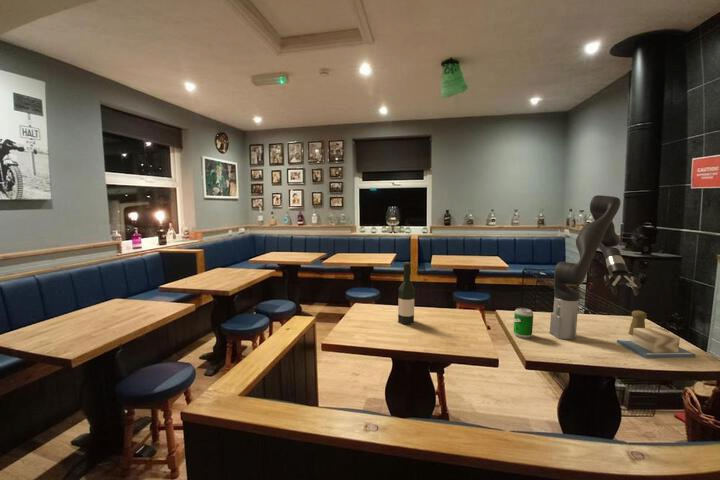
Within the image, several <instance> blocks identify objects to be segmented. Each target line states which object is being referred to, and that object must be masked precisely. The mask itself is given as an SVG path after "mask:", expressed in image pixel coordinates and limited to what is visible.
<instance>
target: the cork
mask: <svg viewBox="0 0 720 480" xmlns="http://www.w3.org/2000/svg"><path fill="white" fill-rule="evenodd" d="M631 317H632V319H631V323H630V326H629V331H628V334H629V335H630V336H632V337H633V329H634V328H646V321H645V320H646V319H647V317H648V315H647V313H646V312H644V311H642V310H633V311H632V312H631Z"/></svg>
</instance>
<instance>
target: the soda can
mask: <svg viewBox="0 0 720 480" xmlns="http://www.w3.org/2000/svg"><path fill="white" fill-rule="evenodd" d="M533 327H534V312H533V311H532V310H531V309H529V308H525V307H517V308H516V309H515V310H514V318H513V331H512V333H513V334H514V335H515V337H517V338H520V339H521V338H522V339H530V337H532V336H533V329H534V328H533Z"/></svg>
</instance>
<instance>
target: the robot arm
mask: <svg viewBox="0 0 720 480" xmlns="http://www.w3.org/2000/svg"><path fill="white" fill-rule="evenodd" d="M620 207H621V199H620V197H617V196H610V195H601V194H600V195H598V194H597V195H594V196H592V198H591V200H590V204H589V212H590V214H591V216H592V219H593V221H592V222H589V223H588V224H586V225H584V226H583V227H582V228H581V230H580V231H579V232H578V235H577V236H576V238H575V246H576V249H577V252H578V254H579V260H578V262H576V263H575V262H574V263H573V262H568V261H567V262H566V261H559V262H557V263H556V265H555V268H554V273H553V274H554V276H553V277H554V278H553V279H554V281H553V292H554V297H553V298H554V299H553V300H554V301H553V311H552V312H551V313H550V323H549V334H551V335H552V336H554V337H556V338H557V339H562V340H563V339H564V340H574V339H576V337H577V324H578V314H579V302H580V294H579V293H578V292H577V291H576V290H574V289H572V288H571V287H570V286H569V285H573V286H579V285H581V284H583V282H584V280H585V278H586V277H587V275H588V271H589V269H590V265H591V264H592V260H593V258H594V257H595V254H596V252H597V250H598V249H599V250H600V251H601V252H602V254H603V257H604V258H605V262H606V268H607V271H608V273H609V274H607V273H605V275H604V276H603V281H604V284H605V287H606V288H610V289H611V293H612V294H614V295H615V296H616V295H618V293H619V292H618V288H617V286H616V285H623V286H627V287H630V288H631V290H632V292H633V295H634V296H635V297H637V296H639V294H640V291H639V289H640V288H641V286H642V283H641V281H640V279H639V277H638V275H633V276H630V275H629V270H628V268H627V265H626V262H625V259H623V256H622V253H621V251H620V249H619V248H618V246H619V245H620V243H621V239H620V237H619V235H618V234H617V233H616V230H615V229H616V228H615V223H614V222H613V220H614V218H615V217H616V215H617V213H618V211H619V209H620ZM610 279H611V280H612V281H613V282H612V283H611V281H610ZM568 284H569V285H568Z"/></svg>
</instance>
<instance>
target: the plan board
mask: <svg viewBox="0 0 720 480" xmlns="http://www.w3.org/2000/svg"><path fill="white" fill-rule="evenodd" d="M616 344H618V345H621V346H622V347H624V348H625V349H627V350H630V351H631V352H632V353H633V352H634V353H635V354H637V355H639V356H641V357H642V358H643V359H644V358H645V359H662V358H663V359H665V358H667V359H669V358H671V359H672V358H673V359H675V358H696V353H694V352H691V351H689V350H687V349H684V348H682V347H680V346H679V350H678V352H659V353H653V352H651V351H649V350H647V349H645V348H643V347H641V346H640V345H638V344H636V343H634V342H632V339H616Z"/></svg>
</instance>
